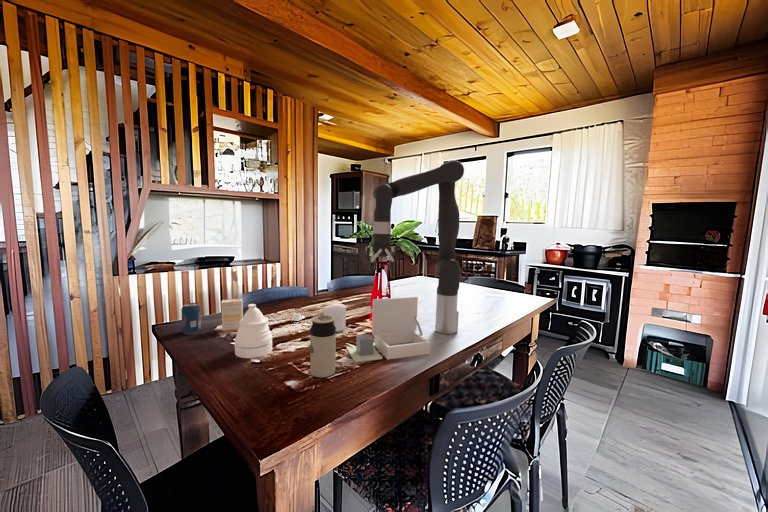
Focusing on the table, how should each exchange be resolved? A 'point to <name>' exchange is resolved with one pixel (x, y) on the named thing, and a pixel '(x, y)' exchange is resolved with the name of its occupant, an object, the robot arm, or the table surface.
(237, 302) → the supplement box
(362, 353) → the block
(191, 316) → the soda can
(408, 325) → the case
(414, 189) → the robot arm
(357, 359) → the mat
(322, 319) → the travel mug
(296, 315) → the teacup and saucer
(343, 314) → the photo printer
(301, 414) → the table surface
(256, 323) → the honey pot
